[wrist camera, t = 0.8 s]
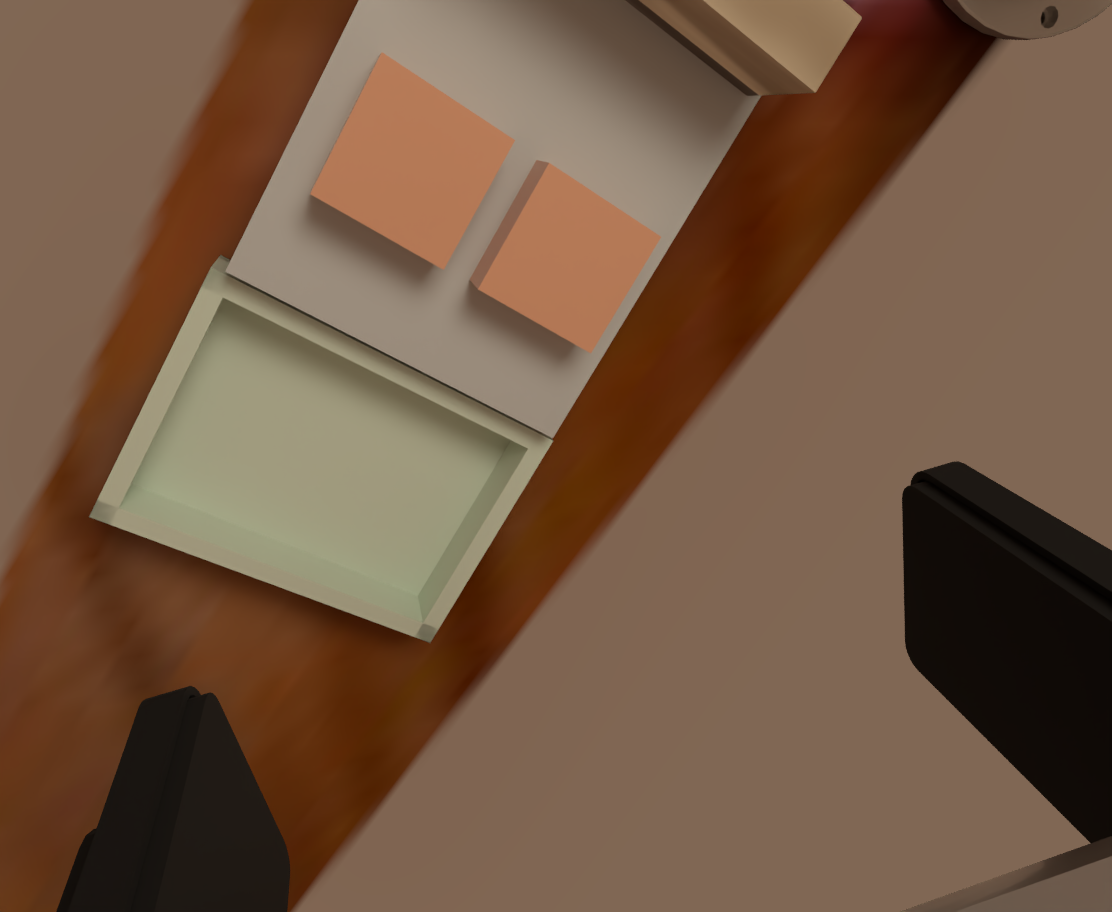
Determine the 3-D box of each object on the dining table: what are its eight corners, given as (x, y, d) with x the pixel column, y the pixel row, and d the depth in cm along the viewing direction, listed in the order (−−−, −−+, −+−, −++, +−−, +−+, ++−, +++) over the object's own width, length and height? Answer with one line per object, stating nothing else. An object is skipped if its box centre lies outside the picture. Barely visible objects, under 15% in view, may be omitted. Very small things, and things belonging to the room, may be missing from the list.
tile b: (378, 55, 28) (381, 51, 27) (504, 138, 30) (515, 140, 29) (311, 189, 29) (309, 194, 28) (437, 261, 31) (443, 269, 30)
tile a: (536, 160, 31) (549, 162, 29) (643, 230, 33) (661, 236, 31) (469, 279, 32) (477, 289, 30) (576, 340, 34) (590, 353, 32)
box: (220, 255, 33) (210, 267, 30) (537, 418, 39) (553, 440, 36) (107, 486, 35) (89, 517, 33) (423, 608, 41) (430, 642, 39)
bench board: (486, -254, 29) (508, -305, 26) (777, -3, 35) (828, -16, 31) (236, 254, 33) (225, 271, 30) (532, 408, 39) (552, 438, 35)
